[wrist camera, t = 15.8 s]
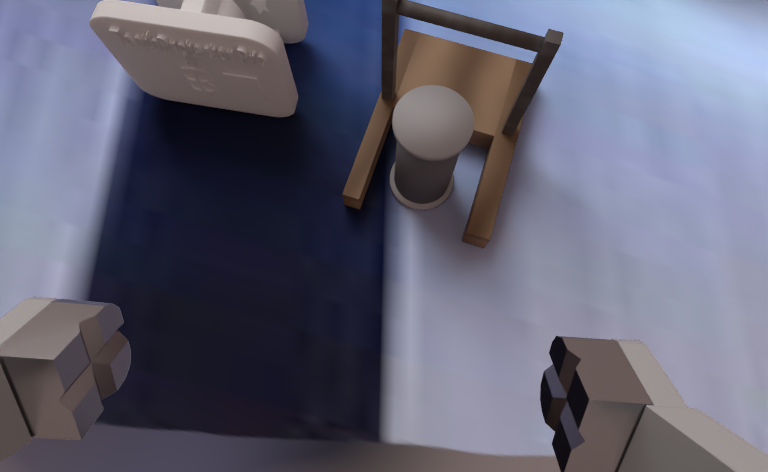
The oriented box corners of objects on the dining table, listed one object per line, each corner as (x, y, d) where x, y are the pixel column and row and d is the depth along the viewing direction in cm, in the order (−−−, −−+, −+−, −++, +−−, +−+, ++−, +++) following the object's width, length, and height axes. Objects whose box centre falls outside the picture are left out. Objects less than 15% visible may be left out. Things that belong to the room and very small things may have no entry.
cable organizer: (320, 38, 49) (302, -64, 38) (297, 129, 46) (270, 47, 35) (177, 16, 50) (119, -90, 38) (145, 105, 46) (71, 17, 35)
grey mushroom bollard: (381, 199, 44) (381, 143, 34) (400, 144, 45) (406, 75, 35) (442, 218, 43) (462, 167, 33) (460, 162, 45) (483, 97, 35)
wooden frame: (344, 204, 43) (327, 120, 30) (403, 46, 49) (413, -89, 35) (483, 247, 42) (534, 181, 29) (529, 81, 47) (590, -45, 34)
